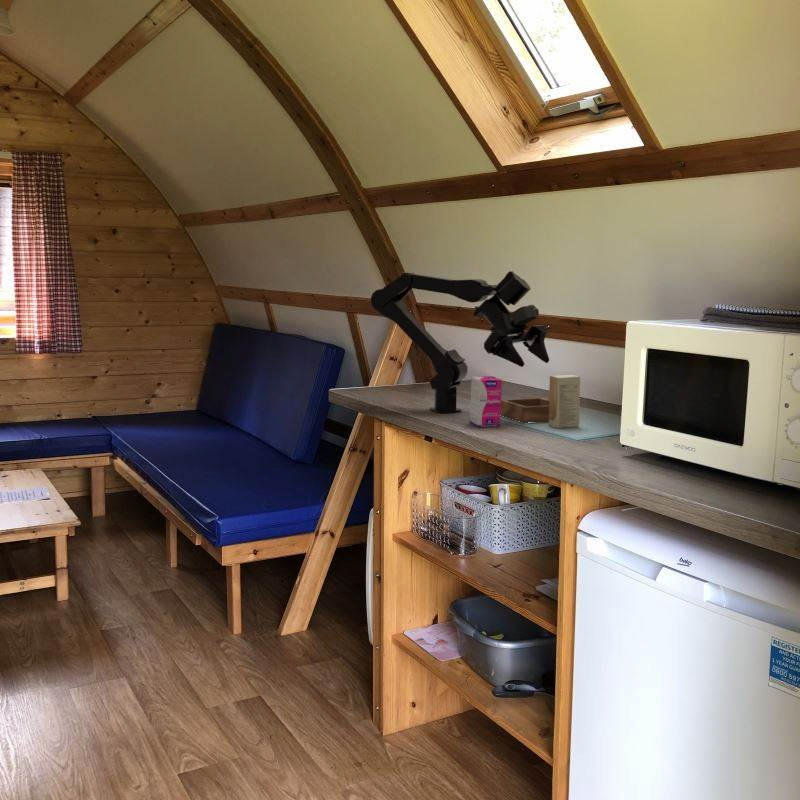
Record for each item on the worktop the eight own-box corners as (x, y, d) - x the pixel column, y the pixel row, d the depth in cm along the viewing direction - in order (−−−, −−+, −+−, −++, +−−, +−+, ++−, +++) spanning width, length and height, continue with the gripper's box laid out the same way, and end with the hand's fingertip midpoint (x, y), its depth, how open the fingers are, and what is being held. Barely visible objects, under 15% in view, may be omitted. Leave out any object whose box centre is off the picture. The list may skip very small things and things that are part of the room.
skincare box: (570, 424, 215) (572, 374, 213) (579, 427, 211) (582, 376, 209) (546, 425, 213) (548, 374, 211) (555, 428, 209) (557, 377, 207)
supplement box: (477, 427, 209) (479, 379, 207) (469, 423, 214) (470, 376, 213) (500, 426, 210) (502, 379, 208) (491, 422, 216) (493, 375, 214)
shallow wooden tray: (498, 415, 226) (499, 400, 225) (540, 412, 231) (540, 397, 230) (524, 423, 214) (525, 407, 214) (567, 420, 219) (568, 404, 219)
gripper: (490, 296, 210) (527, 343, 203) (541, 292, 222) (578, 337, 215) (468, 329, 217) (503, 376, 210) (518, 324, 229) (553, 368, 222)
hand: (535, 363), depth 214 cm, fingers open, 9 cm apart
